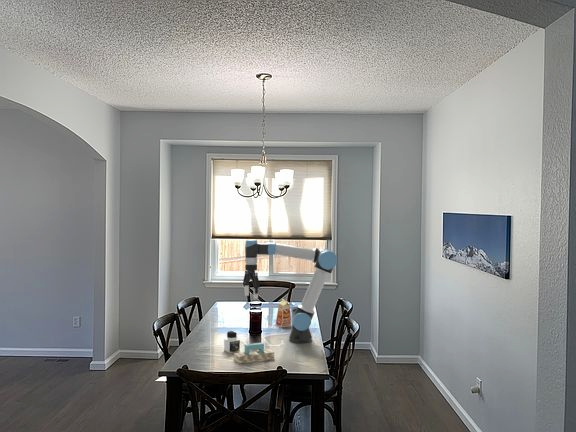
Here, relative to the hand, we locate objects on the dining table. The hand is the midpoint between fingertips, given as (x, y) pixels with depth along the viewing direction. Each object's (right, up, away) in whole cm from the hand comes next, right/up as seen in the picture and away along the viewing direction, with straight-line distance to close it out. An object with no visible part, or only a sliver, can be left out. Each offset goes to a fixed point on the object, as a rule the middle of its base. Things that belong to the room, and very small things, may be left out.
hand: (251, 297), depth 348 cm
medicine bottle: (-11, -31, -14) cm, 36 cm away
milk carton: (+21, -30, +59) cm, 69 cm away
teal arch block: (+4, -31, -32) cm, 45 cm away
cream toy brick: (+4, -31, -32) cm, 45 cm away
